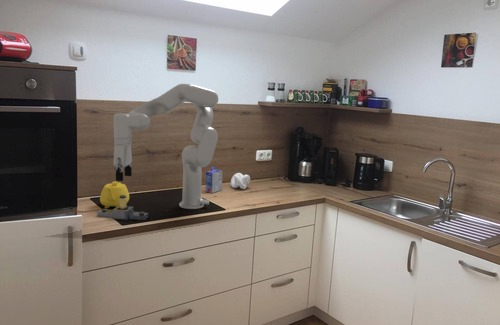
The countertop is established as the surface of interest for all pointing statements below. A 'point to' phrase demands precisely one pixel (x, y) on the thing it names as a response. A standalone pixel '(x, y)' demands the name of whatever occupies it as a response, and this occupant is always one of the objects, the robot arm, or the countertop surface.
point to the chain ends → (122, 214)
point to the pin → (122, 202)
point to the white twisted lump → (240, 181)
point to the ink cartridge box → (213, 180)
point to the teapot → (113, 194)
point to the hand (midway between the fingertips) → (123, 178)
